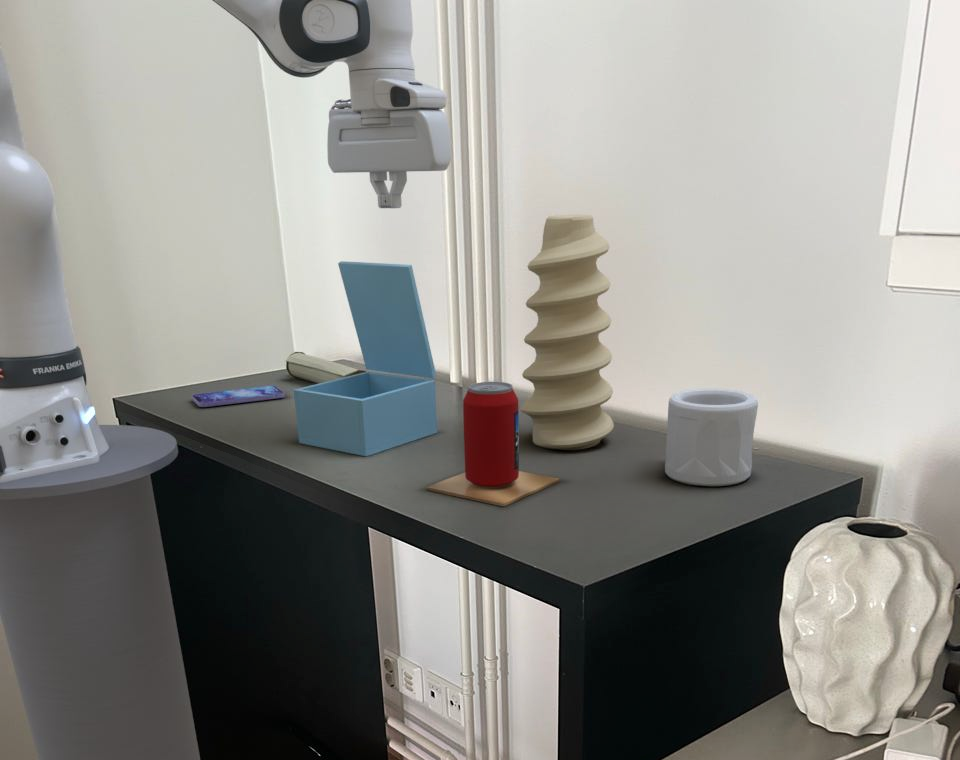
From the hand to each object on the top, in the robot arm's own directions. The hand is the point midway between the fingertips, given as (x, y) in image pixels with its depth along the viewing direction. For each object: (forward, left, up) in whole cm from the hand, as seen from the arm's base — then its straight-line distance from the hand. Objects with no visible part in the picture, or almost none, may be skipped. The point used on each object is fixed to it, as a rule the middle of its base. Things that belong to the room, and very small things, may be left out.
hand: (390, 208), depth 140 cm
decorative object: (+6, -26, -31) cm, 41 cm away
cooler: (-8, 0, -31) cm, 32 cm away
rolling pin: (+14, +31, -31) cm, 46 cm away
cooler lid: (-2, 0, -15) cm, 15 cm away
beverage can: (-17, -30, -31) cm, 46 cm away
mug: (+2, -49, -31) cm, 58 cm away
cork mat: (-17, -30, -31) cm, 46 cm away
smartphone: (-1, +38, -31) cm, 49 cm away
